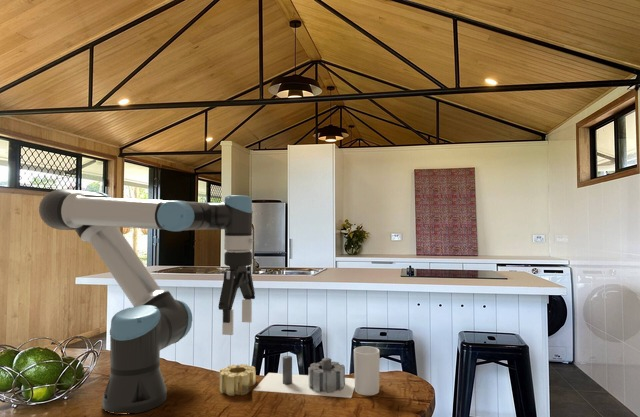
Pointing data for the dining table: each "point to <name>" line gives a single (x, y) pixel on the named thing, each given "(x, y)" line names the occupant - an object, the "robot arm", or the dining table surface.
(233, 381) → the gear
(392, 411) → the dining table surface
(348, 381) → the board
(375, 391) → the mug
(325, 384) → the gear
